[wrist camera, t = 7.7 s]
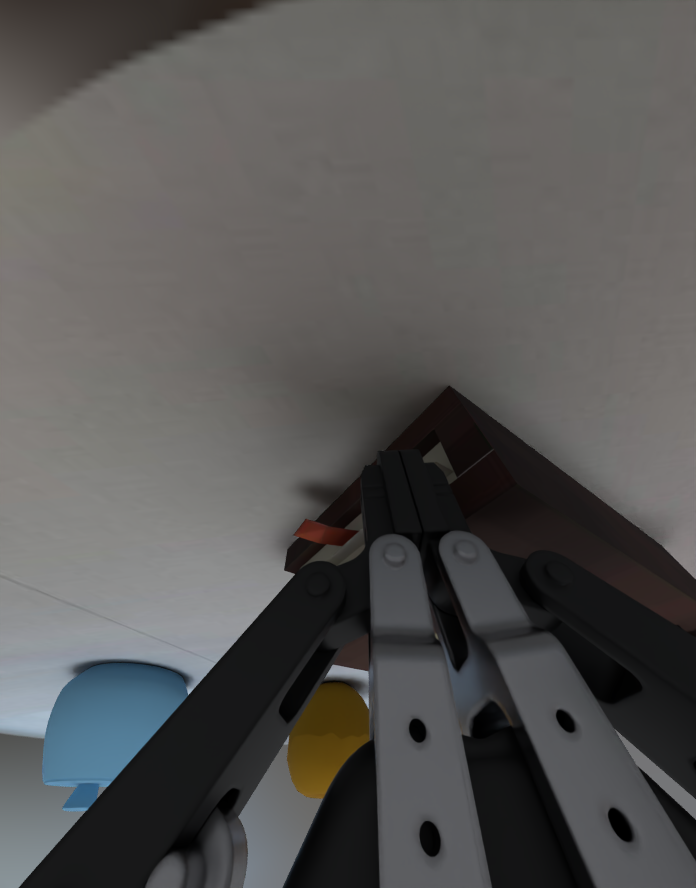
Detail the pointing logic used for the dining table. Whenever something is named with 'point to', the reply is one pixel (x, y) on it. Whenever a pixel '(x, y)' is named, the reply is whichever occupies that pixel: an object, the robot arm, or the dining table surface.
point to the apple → (326, 737)
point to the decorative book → (509, 515)
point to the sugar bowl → (105, 725)
